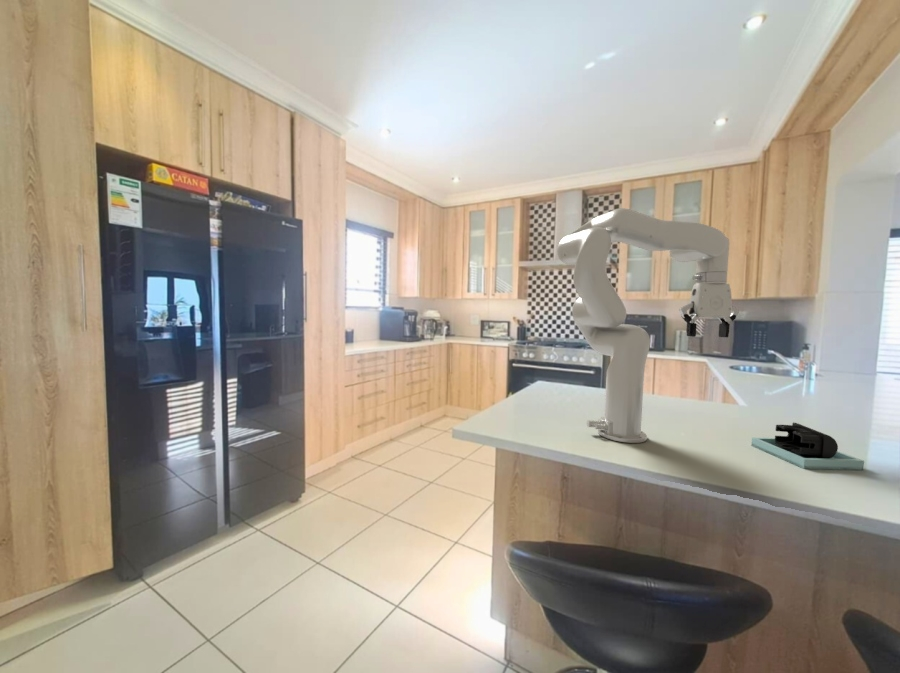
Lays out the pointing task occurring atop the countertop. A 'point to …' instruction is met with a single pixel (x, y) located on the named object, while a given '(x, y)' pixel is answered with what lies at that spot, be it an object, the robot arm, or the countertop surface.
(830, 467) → the tray
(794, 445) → the end cap
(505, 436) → the countertop surface
